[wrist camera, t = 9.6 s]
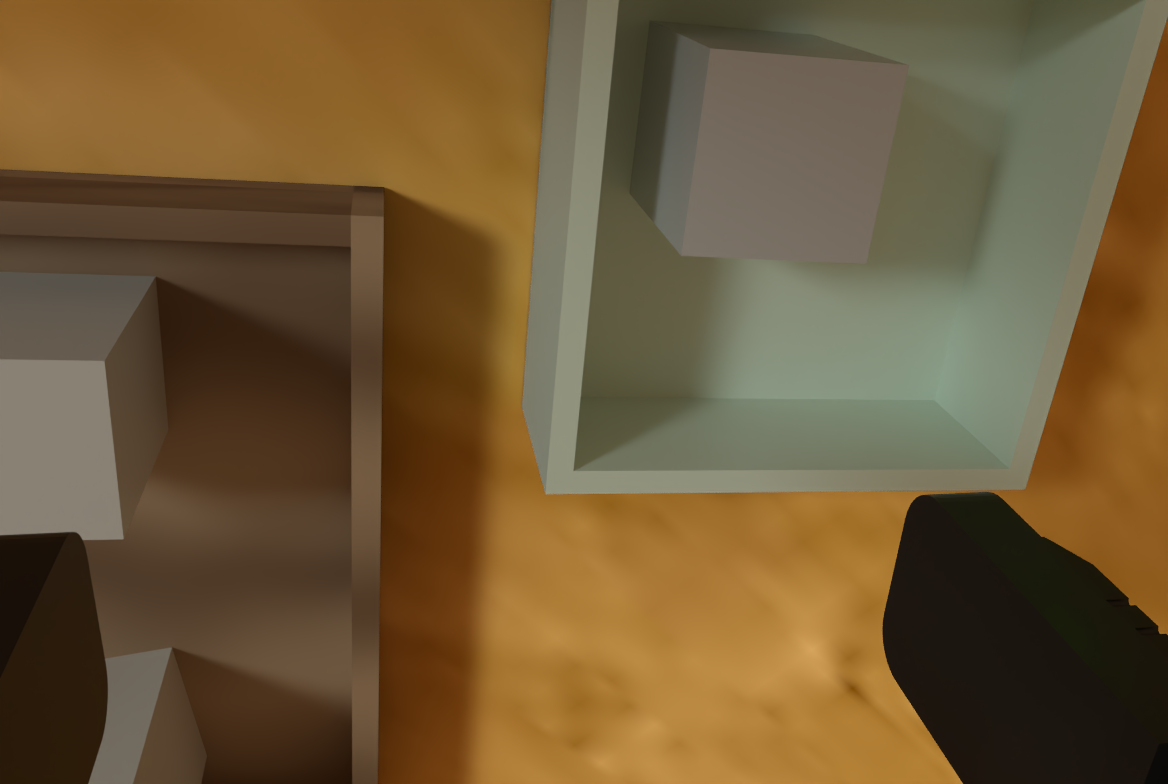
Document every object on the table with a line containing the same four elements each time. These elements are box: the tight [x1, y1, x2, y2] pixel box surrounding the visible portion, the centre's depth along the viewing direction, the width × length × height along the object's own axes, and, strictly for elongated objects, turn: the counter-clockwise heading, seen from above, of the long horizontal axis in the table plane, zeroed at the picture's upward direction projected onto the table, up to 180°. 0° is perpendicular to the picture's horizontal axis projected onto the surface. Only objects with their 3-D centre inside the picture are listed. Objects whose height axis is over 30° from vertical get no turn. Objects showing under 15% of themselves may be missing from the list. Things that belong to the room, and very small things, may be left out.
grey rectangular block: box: [0, 272, 168, 540], centre depth 23 cm, size 4×4×5 cm
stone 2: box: [88, 647, 207, 784], centre depth 27 cm, size 4×4×5 cm
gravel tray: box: [0, 170, 384, 784], centre depth 26 cm, size 19×14×3 cm
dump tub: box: [522, 0, 1168, 494], centre depth 25 cm, size 12×12×5 cm
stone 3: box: [630, 20, 909, 264], centre depth 23 cm, size 4×4×5 cm
